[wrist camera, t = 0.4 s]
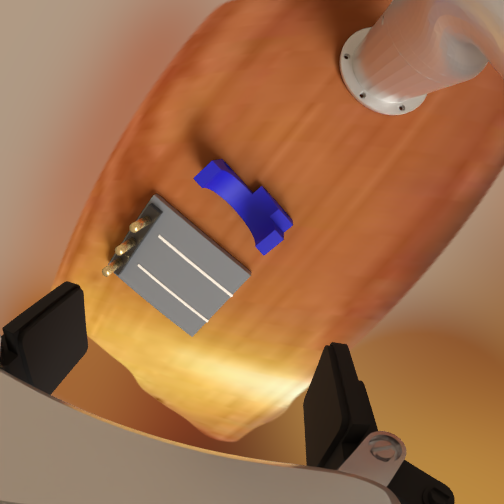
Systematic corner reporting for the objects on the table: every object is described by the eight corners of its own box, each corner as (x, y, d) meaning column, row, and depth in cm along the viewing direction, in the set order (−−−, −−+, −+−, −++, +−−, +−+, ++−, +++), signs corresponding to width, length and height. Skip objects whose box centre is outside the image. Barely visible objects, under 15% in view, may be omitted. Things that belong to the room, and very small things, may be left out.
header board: (157, 193, 41) (153, 194, 40) (252, 272, 44) (251, 276, 42) (110, 263, 46) (106, 266, 44) (194, 333, 48) (192, 337, 47)
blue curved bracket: (292, 219, 41) (293, 231, 35) (266, 240, 42) (263, 255, 37) (230, 150, 39) (222, 151, 33) (205, 174, 40) (193, 178, 35)
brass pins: (152, 202, 41) (135, 210, 36) (163, 212, 41) (148, 220, 36) (112, 264, 44) (94, 277, 39) (121, 272, 44) (105, 286, 40)
